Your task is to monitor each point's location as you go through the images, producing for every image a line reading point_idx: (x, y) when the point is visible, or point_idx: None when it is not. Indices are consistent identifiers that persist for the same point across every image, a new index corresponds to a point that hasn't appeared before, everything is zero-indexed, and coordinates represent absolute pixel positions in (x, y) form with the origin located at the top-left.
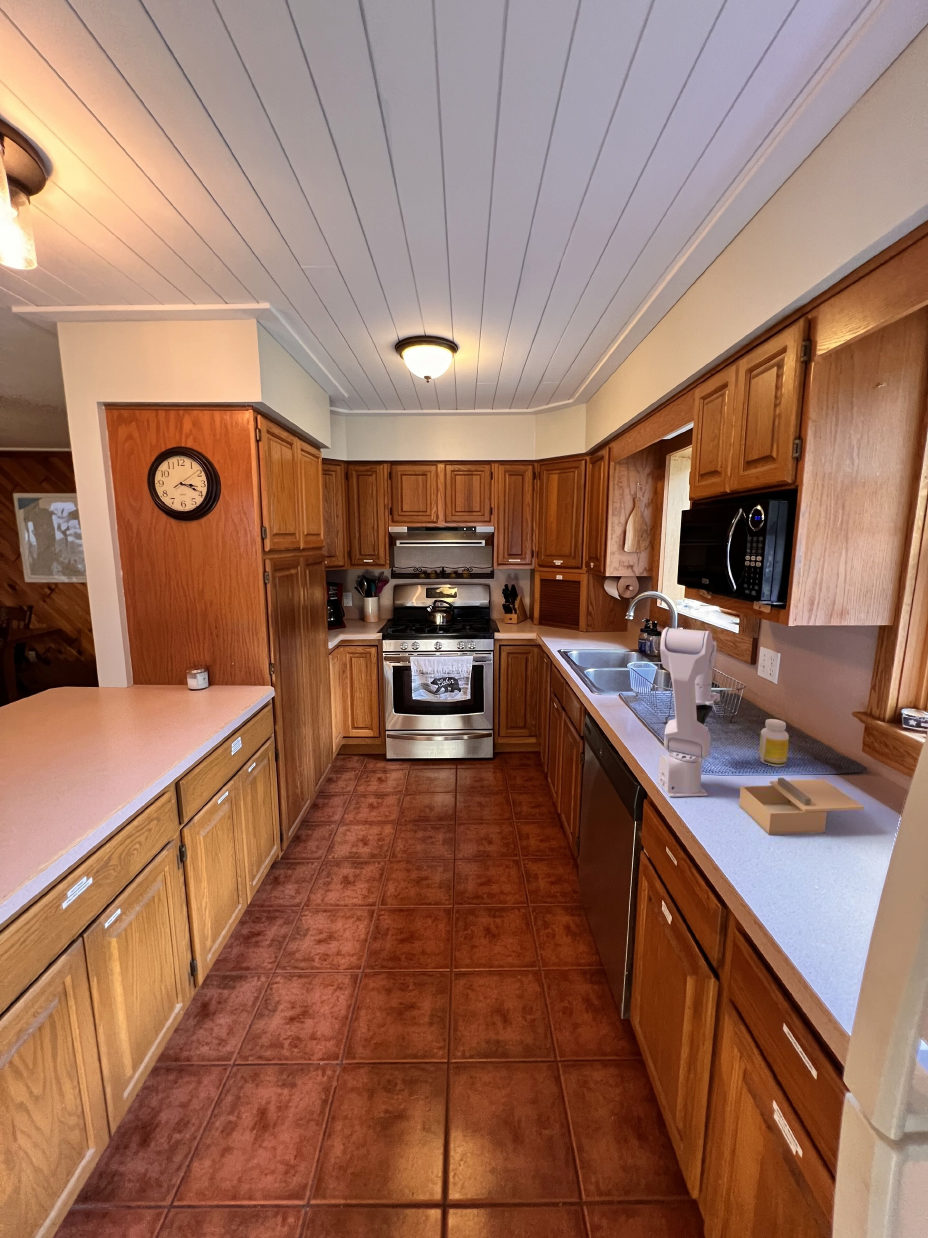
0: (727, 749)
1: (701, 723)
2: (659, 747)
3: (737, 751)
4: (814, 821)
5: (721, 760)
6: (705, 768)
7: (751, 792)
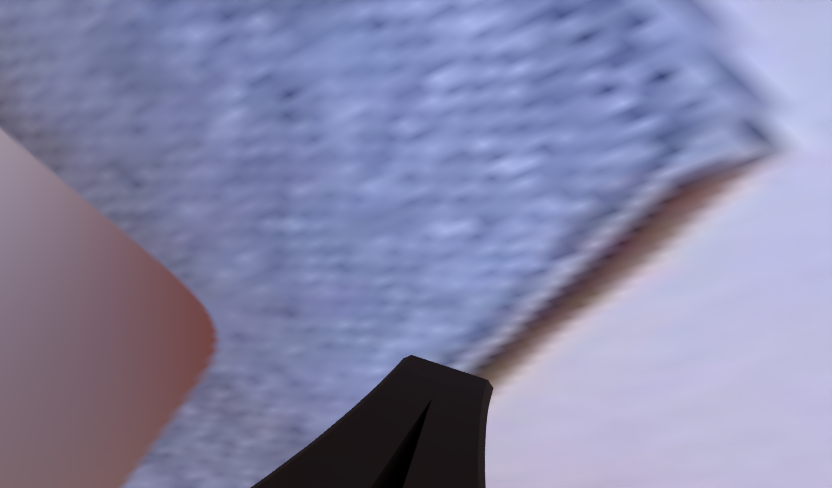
0: (79, 97)
1: (416, 478)
2: None
3: (37, 23)
4: None
5: (279, 36)
6: (549, 62)
7: None
